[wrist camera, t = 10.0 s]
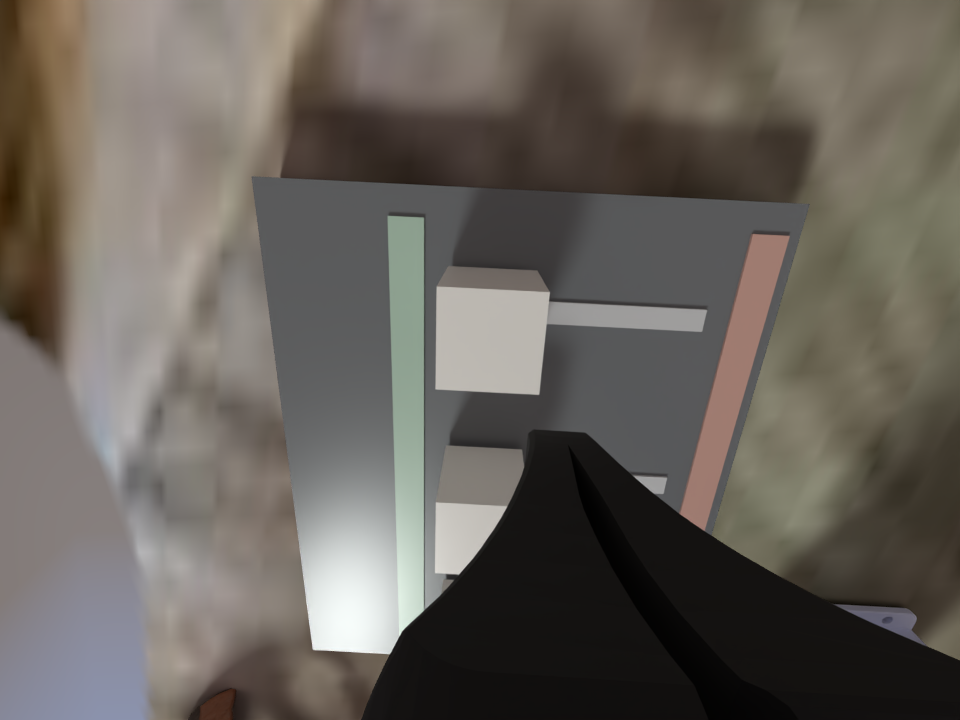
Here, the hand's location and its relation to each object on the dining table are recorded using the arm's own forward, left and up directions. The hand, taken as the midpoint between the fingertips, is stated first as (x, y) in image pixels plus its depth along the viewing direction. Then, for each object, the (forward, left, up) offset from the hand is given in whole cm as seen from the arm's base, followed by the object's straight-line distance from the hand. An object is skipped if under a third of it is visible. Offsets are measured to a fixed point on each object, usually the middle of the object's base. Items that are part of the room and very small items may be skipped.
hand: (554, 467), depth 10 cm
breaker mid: (+2, +5, -6) cm, 8 cm away
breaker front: (+2, -2, -6) cm, 7 cm away
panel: (+1, +5, -8) cm, 10 cm away
